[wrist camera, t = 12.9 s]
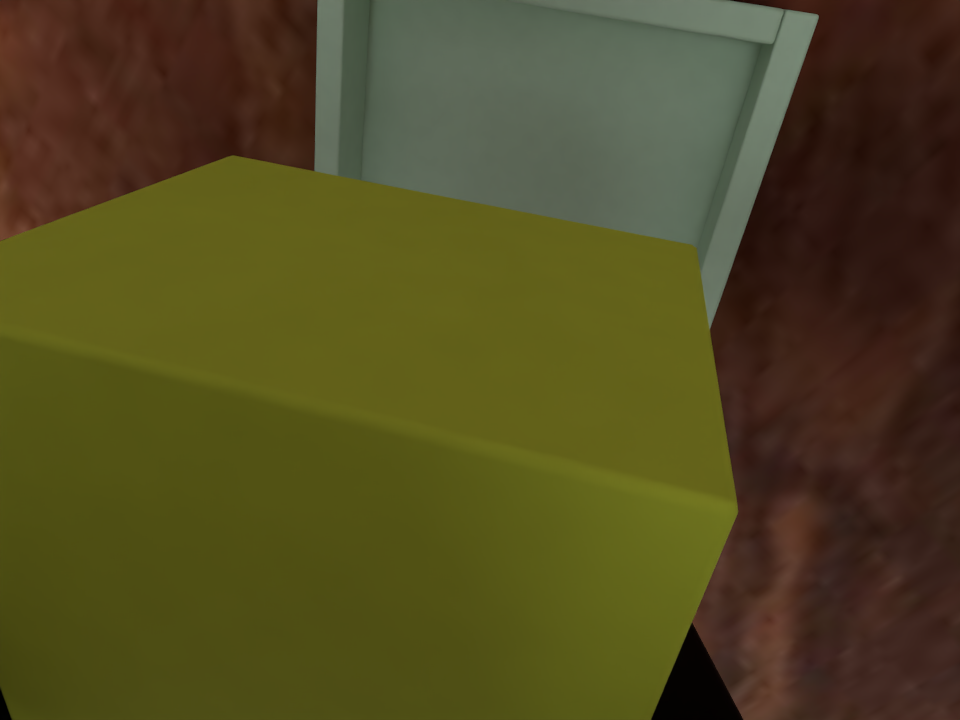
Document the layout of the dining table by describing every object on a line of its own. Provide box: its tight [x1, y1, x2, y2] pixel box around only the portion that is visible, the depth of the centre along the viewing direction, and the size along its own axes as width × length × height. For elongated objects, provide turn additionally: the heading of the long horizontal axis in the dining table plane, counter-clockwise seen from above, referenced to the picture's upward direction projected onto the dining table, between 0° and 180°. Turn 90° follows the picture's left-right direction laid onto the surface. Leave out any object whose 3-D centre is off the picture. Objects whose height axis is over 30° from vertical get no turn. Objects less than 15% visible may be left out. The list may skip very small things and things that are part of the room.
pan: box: [315, 0, 819, 329], centre depth 18 cm, size 10×17×2 cm, turn 172°
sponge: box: [0, 155, 738, 720], centre depth 7 cm, size 5×7×4 cm
